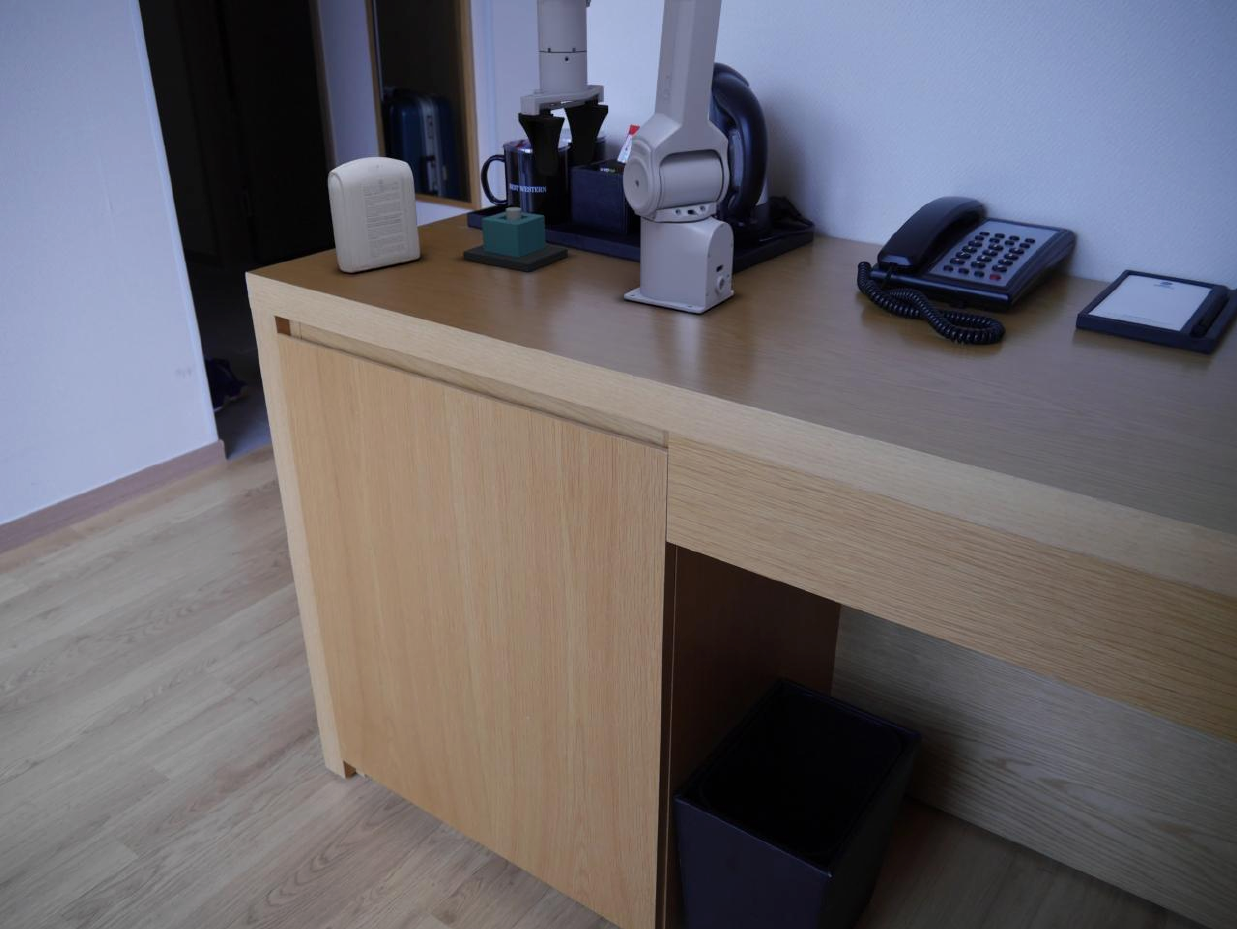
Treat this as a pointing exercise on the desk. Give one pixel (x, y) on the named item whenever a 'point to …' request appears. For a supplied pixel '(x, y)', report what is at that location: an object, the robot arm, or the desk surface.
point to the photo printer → (373, 213)
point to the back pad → (521, 263)
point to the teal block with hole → (513, 234)
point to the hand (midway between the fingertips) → (565, 169)
